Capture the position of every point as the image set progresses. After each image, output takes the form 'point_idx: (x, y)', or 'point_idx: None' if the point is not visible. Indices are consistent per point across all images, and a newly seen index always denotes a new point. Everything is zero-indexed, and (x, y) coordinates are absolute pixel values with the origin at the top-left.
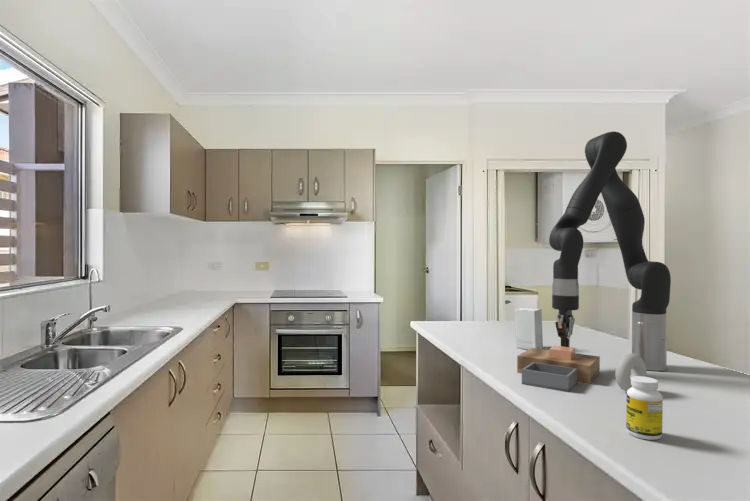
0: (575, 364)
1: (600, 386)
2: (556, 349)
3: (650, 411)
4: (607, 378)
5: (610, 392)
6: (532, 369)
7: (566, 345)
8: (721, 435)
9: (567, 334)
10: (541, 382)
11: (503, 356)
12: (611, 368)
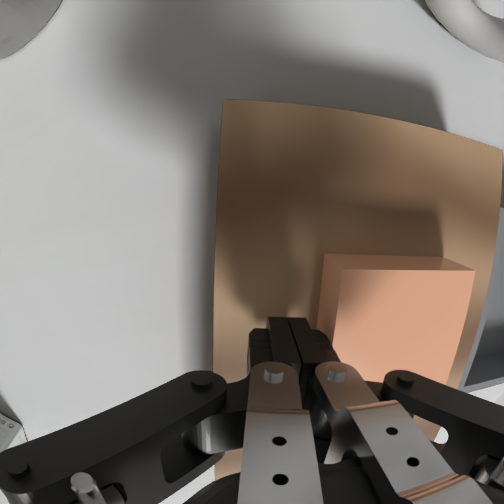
0: (496, 219)
1: (454, 114)
2: (447, 360)
3: None
4: (313, 81)
5: (493, 90)
6: (472, 371)
7: (324, 344)
8: None
9: (393, 388)
10: None
11: (179, 499)
12: (87, 98)
